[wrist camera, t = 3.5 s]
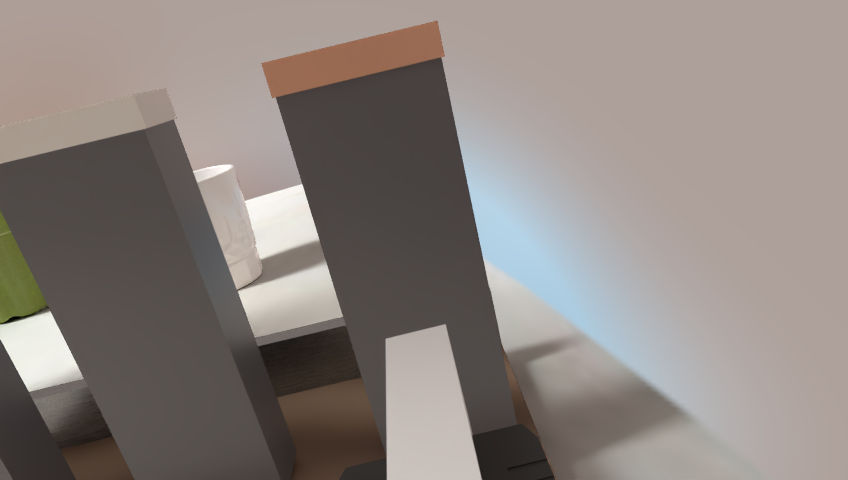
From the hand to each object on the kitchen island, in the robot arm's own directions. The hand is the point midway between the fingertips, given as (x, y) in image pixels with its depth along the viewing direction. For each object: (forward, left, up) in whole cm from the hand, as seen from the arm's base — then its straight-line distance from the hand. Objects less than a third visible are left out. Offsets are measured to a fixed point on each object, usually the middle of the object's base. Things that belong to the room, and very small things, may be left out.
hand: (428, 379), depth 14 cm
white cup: (-35, +21, -9) cm, 42 cm away
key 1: (-4, +5, -7) cm, 9 cm away
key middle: (-11, 0, -7) cm, 13 cm away
